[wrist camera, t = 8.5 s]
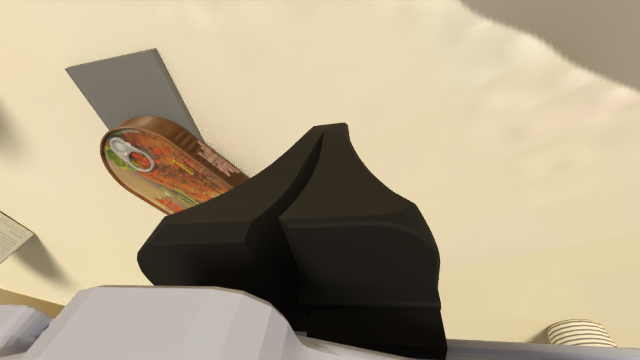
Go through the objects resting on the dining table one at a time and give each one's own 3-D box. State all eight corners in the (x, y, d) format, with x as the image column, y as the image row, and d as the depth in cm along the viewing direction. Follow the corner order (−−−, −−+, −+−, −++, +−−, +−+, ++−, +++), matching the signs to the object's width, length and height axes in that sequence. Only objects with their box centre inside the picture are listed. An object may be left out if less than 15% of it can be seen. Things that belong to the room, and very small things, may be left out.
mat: (241, 214, 30) (239, 218, 30) (178, 217, 32) (175, 221, 32) (155, 48, 20) (151, 50, 20) (70, 66, 22) (64, 68, 22)
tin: (279, 222, 26) (226, 258, 29) (285, 199, 28) (236, 236, 32) (121, 104, 20) (80, 169, 24) (146, 89, 22) (106, 150, 26)
